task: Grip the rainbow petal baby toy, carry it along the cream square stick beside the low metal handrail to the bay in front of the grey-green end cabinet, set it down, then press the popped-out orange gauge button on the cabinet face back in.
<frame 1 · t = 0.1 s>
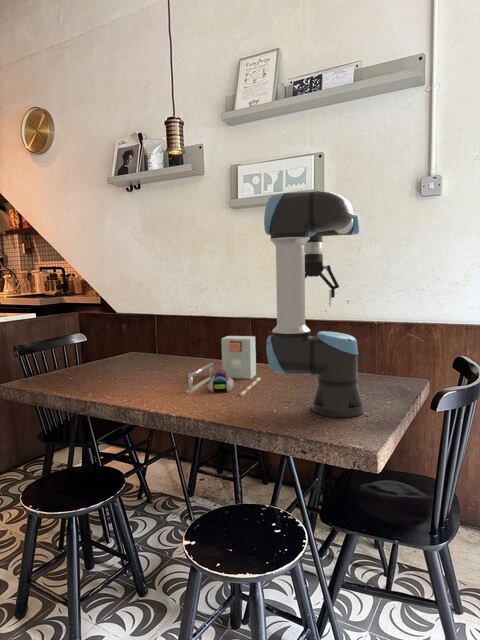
hand: (313, 306, 180), 28 cm above the table, fingers open, 13 cm apart
handrail: (201, 384, 168), on the table
rainbow petal baby toy: (221, 390, 160), on the table
cream square stick: (250, 387, 163), on the table
cabinet: (239, 376, 181), on the table
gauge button: (235, 346, 175), point 13 cm above the table, slide at 0.0 cm
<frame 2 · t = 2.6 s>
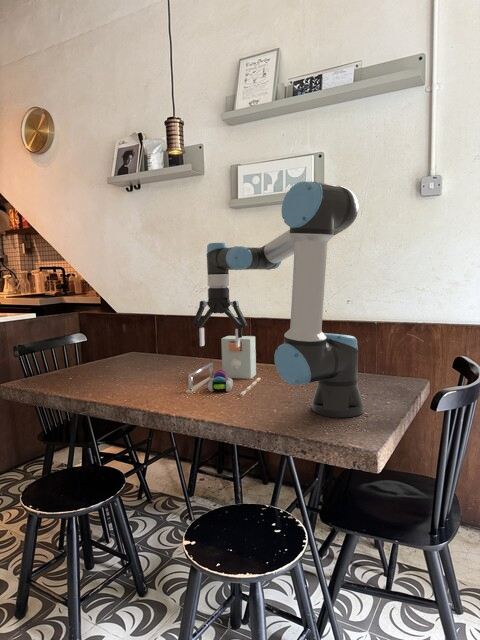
hand: (219, 346, 158), 16 cm above the table, fingers open, 13 cm apart
nothing on the table moved.
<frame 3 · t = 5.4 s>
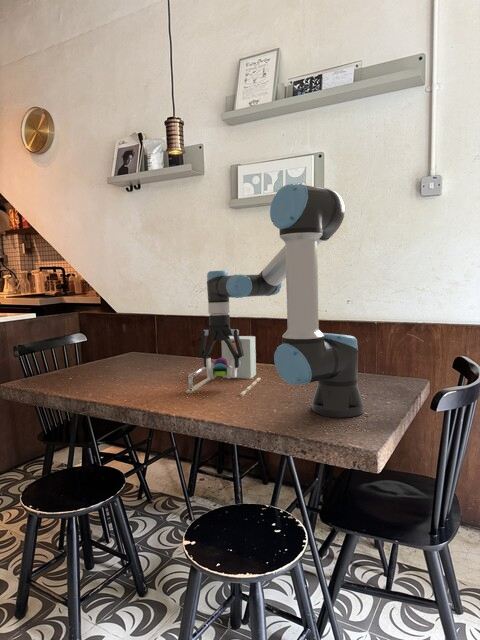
hand: (222, 376, 159), 5 cm above the table, fingers closed on rainbow petal baby toy, 9 cm apart
rainbow petal baby toy: (221, 378, 158), point 4 cm above the table, touching gripper
everything else where it was.
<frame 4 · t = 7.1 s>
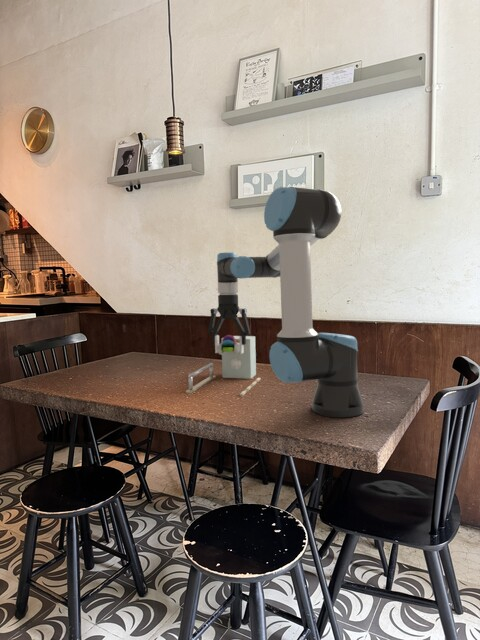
hand: (229, 352, 169), 12 cm above the table, fingers closed on rainbow petal baby toy, 9 cm apart
rainbow petal baby toy: (229, 354, 168), point 11 cm above the table, touching gripper
everything else where it was.
when the fingers open (1 cm above the table, at t = 9.0 s): rainbow petal baby toy stays where it is, on the table.
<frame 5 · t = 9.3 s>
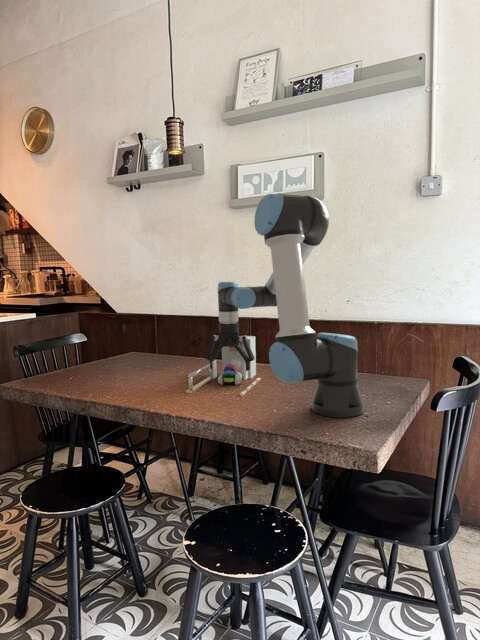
hand: (230, 378, 170), 2 cm above the table, fingers open, 12 cm apart
rainbow petal baby toy: (230, 384, 169), on the table
everything else where it was.
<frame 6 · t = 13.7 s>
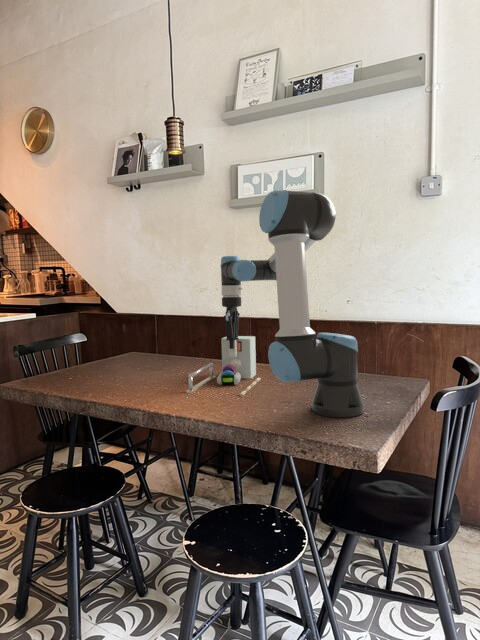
hand: (232, 356, 173), 10 cm above the table, fingers closed
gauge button: (235, 346, 176), point 13 cm above the table, slide at 1.2 cm, touching gripper
everything else where it was.
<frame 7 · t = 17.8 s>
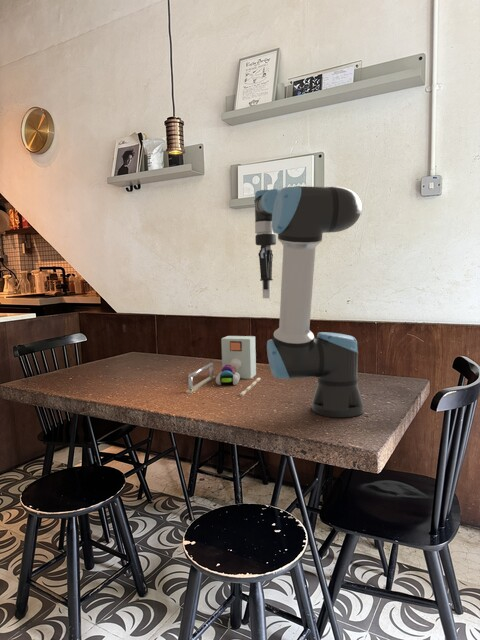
hand: (266, 298, 164), 32 cm above the table, fingers closed
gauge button: (236, 345, 177), point 13 cm above the table, slide at 1.8 cm
everything else where it was.
at the end: rainbow petal baby toy inside the target area (1.3 cm from its centre), on the table; rainbow petal baby toy tilted 0°; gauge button slide at 1.8 cm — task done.
